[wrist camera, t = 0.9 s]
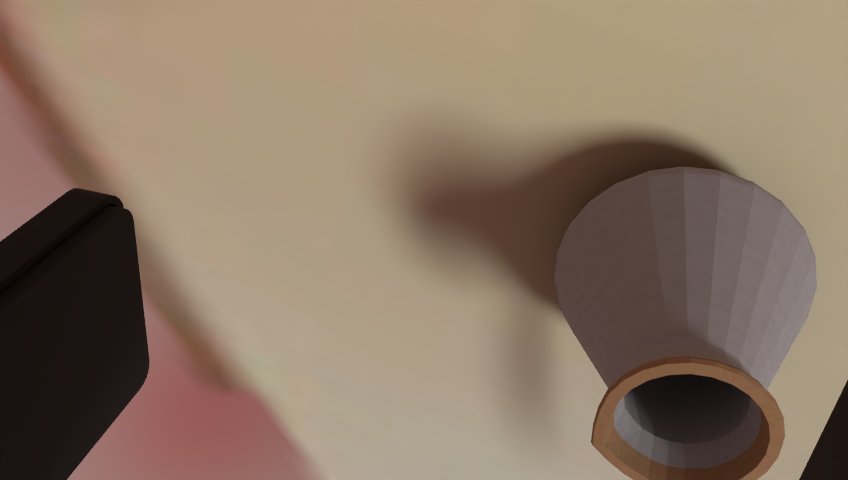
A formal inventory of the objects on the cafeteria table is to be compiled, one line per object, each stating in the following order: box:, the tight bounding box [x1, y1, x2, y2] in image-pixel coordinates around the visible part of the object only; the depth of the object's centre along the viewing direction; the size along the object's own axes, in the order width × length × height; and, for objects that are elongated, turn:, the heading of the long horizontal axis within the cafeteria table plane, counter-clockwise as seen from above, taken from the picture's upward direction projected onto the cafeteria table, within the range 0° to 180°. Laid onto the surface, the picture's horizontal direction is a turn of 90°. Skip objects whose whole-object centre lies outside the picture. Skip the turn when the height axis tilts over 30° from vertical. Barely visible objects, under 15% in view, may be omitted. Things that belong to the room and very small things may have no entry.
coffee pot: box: [554, 166, 816, 480], centre depth 35 cm, size 21×12×15 cm, turn 22°
